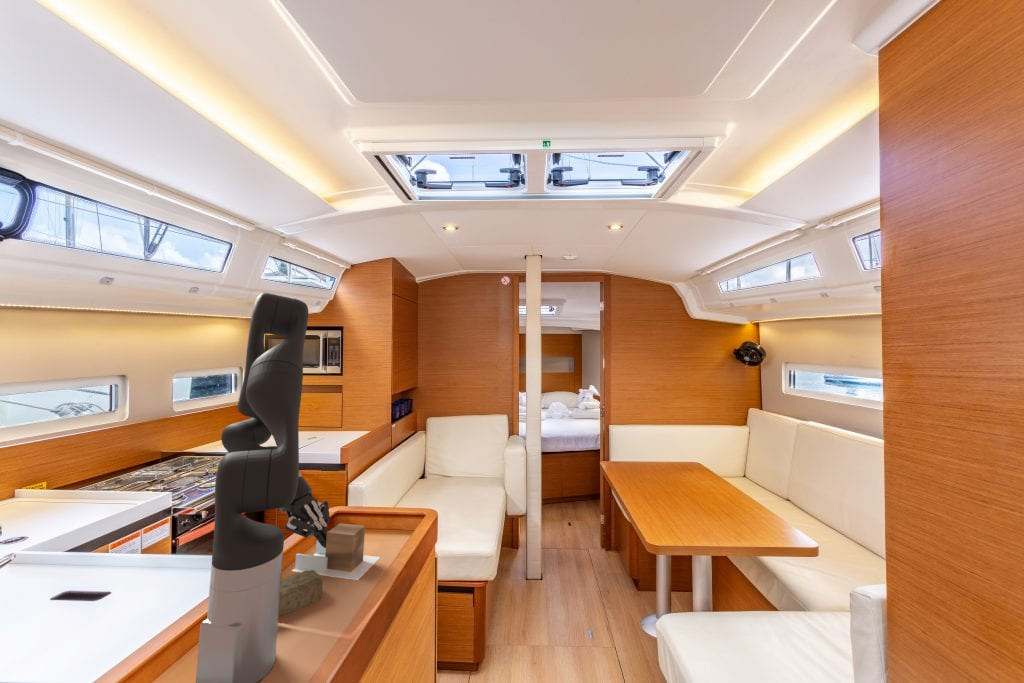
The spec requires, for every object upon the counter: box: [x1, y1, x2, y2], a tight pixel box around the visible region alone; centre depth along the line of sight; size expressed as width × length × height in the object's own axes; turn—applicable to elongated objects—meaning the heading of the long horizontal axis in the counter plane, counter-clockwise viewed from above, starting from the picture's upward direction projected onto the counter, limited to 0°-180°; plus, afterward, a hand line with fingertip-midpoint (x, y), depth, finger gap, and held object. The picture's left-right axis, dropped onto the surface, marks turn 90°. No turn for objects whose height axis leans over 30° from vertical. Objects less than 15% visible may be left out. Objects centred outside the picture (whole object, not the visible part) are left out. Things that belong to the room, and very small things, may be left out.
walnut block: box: [325, 522, 366, 572], centre depth 89 cm, size 5×6×8 cm
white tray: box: [291, 539, 381, 581], centre depth 89 cm, size 10×20×4 cm, turn 81°
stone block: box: [278, 570, 324, 618], centre depth 74 cm, size 6×12×5 cm, turn 139°
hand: (329, 544), depth 89 cm, fingers closed
